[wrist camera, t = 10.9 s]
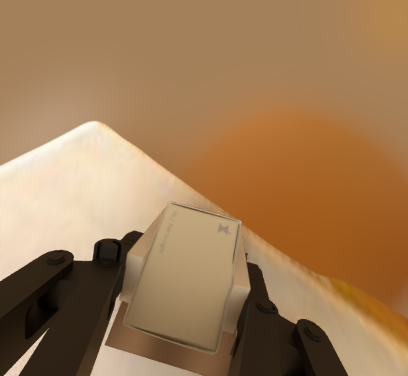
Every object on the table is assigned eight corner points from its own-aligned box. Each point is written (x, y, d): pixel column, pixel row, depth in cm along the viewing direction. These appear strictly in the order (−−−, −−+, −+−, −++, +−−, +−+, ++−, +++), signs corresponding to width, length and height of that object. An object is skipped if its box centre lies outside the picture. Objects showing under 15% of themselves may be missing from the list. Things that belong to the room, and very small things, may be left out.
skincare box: (173, 248, 22) (167, 194, 12) (213, 260, 22) (244, 216, 12) (150, 316, 19) (114, 325, 9) (197, 330, 19) (219, 358, 8)
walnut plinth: (237, 261, 29) (247, 253, 25) (220, 369, 23) (228, 383, 19) (156, 238, 30) (152, 226, 26) (118, 337, 24) (104, 344, 20)
